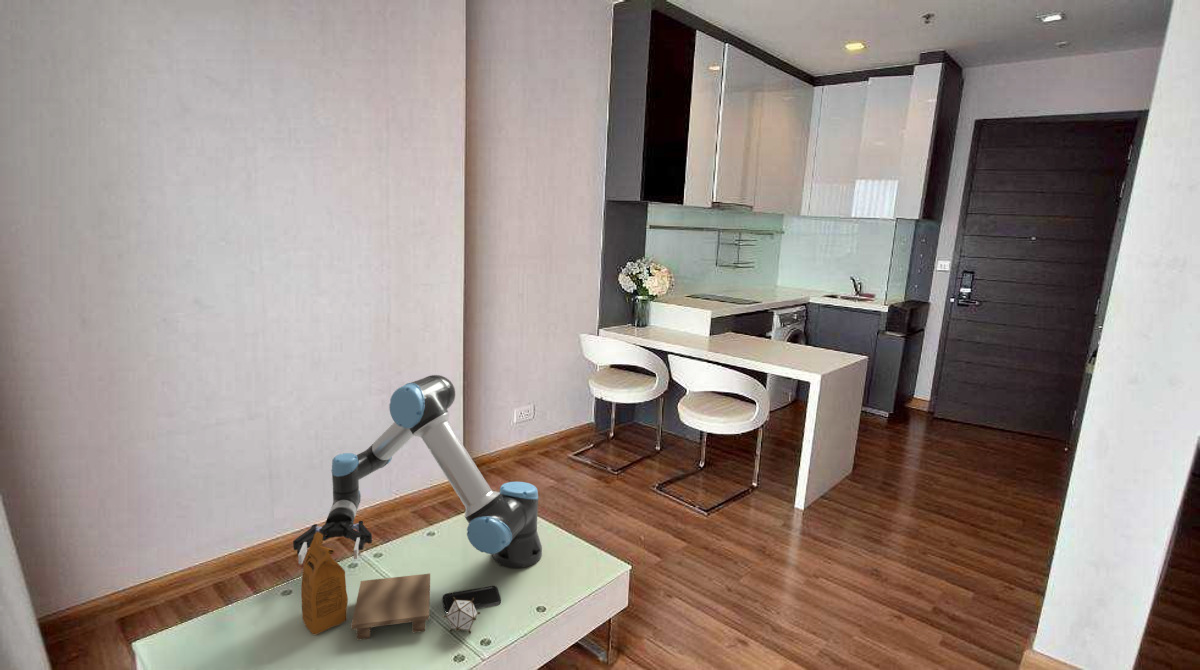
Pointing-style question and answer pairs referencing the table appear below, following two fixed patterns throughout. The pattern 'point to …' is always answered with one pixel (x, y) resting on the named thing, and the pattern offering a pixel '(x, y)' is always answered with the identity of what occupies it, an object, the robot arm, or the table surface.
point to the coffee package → (322, 589)
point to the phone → (480, 595)
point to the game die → (461, 615)
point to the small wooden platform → (392, 603)
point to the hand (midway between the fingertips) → (327, 557)
